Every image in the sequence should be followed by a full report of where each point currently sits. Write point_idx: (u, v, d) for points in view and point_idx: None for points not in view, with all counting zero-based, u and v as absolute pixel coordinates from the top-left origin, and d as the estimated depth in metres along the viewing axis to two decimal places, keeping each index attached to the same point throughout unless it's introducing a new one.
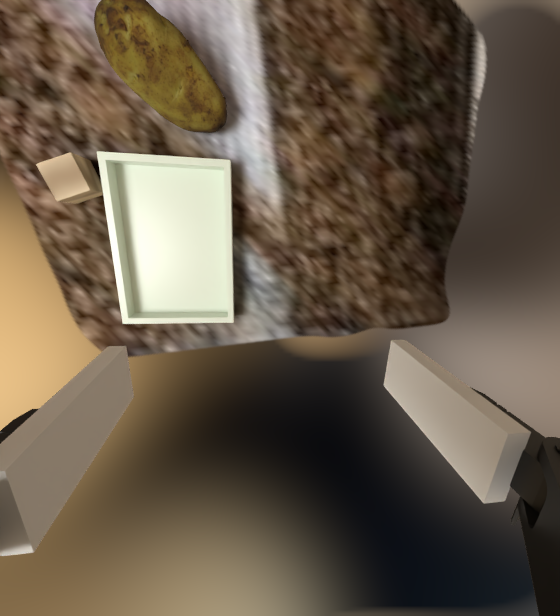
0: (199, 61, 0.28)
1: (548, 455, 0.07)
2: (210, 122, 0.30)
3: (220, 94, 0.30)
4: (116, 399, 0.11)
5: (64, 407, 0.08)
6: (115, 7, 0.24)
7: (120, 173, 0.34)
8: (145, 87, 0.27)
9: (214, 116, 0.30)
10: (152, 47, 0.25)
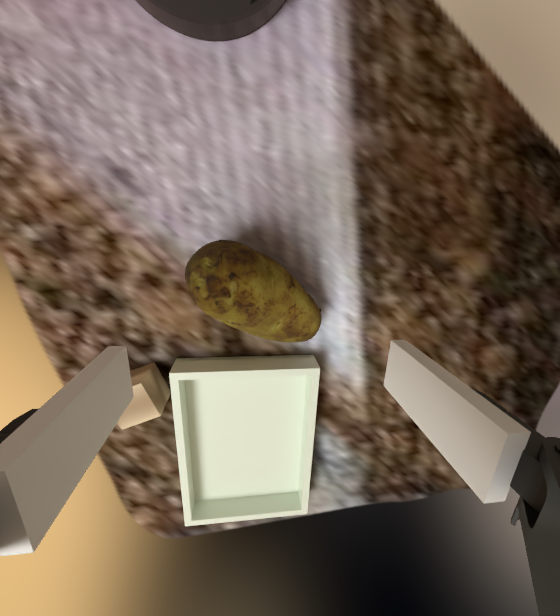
0: (302, 293, 0.23)
1: (548, 455, 0.07)
2: (303, 340, 0.26)
3: (319, 314, 0.25)
4: (116, 399, 0.11)
5: (64, 407, 0.08)
6: (219, 275, 0.19)
7: None
8: (237, 327, 0.23)
9: (310, 336, 0.25)
10: (257, 306, 0.20)
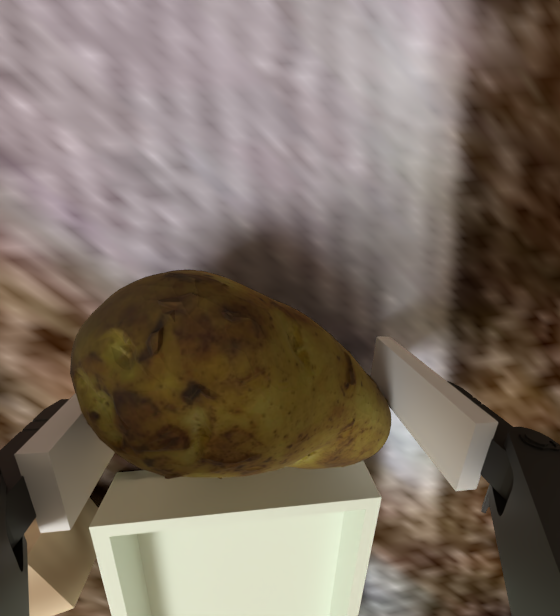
0: (366, 387, 0.10)
1: (514, 444, 0.08)
2: None
3: (389, 417, 0.12)
4: None
5: None
6: (150, 394, 0.06)
7: None
8: None
9: (368, 457, 0.13)
10: (267, 457, 0.07)
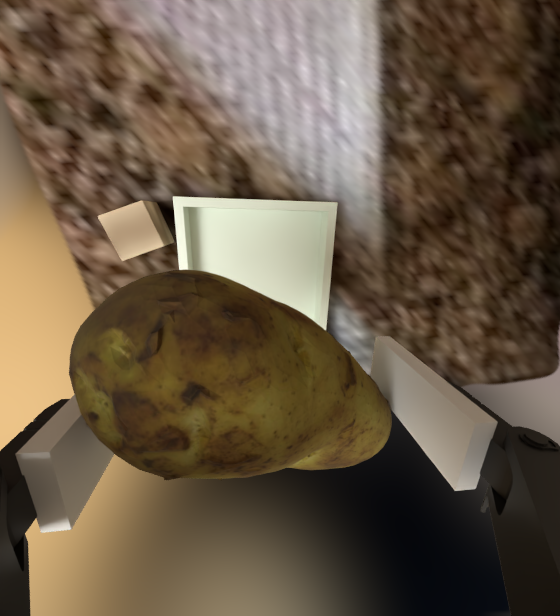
0: (366, 388, 0.10)
1: (513, 444, 0.08)
2: None
3: (390, 418, 0.12)
4: None
5: None
6: (150, 394, 0.06)
7: (194, 218, 0.27)
8: None
9: None
10: (267, 458, 0.07)
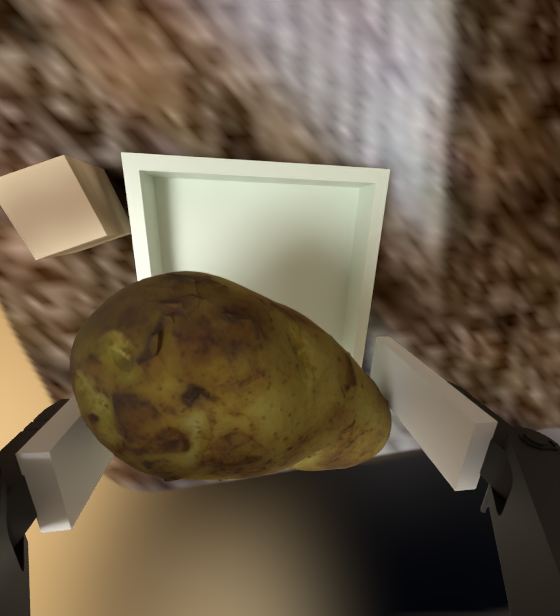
0: (366, 389, 0.10)
1: (513, 444, 0.08)
2: None
3: (390, 418, 0.12)
4: None
5: None
6: (150, 396, 0.06)
7: (163, 195, 0.17)
8: None
9: (368, 459, 0.12)
10: (267, 459, 0.07)
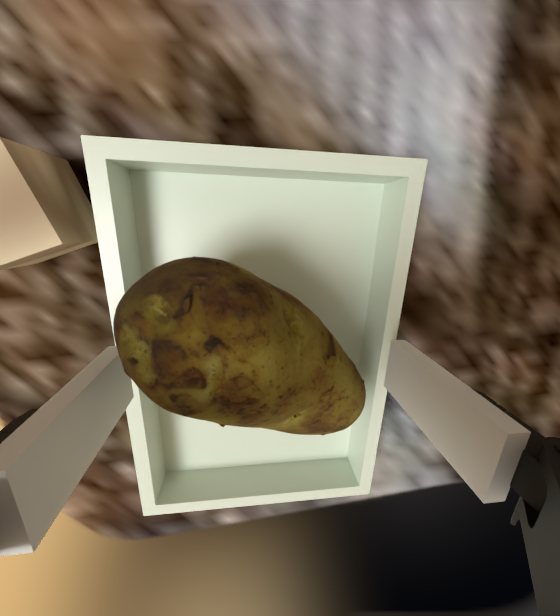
0: (344, 362, 0.12)
1: (548, 455, 0.07)
2: (333, 432, 0.15)
3: (364, 393, 0.14)
4: (116, 399, 0.11)
5: (64, 407, 0.08)
6: (181, 342, 0.08)
7: (142, 192, 0.14)
8: None
9: (345, 428, 0.15)
10: (263, 403, 0.09)
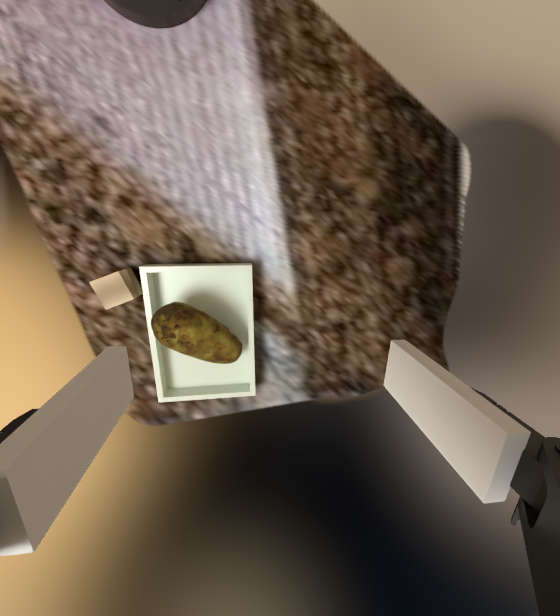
0: (224, 334, 0.37)
1: (548, 455, 0.07)
2: (229, 362, 0.40)
3: (238, 346, 0.39)
4: (116, 399, 0.11)
5: (64, 407, 0.08)
6: (168, 326, 0.33)
7: (156, 277, 0.39)
8: (183, 353, 0.37)
9: (233, 360, 0.39)
10: (192, 343, 0.34)
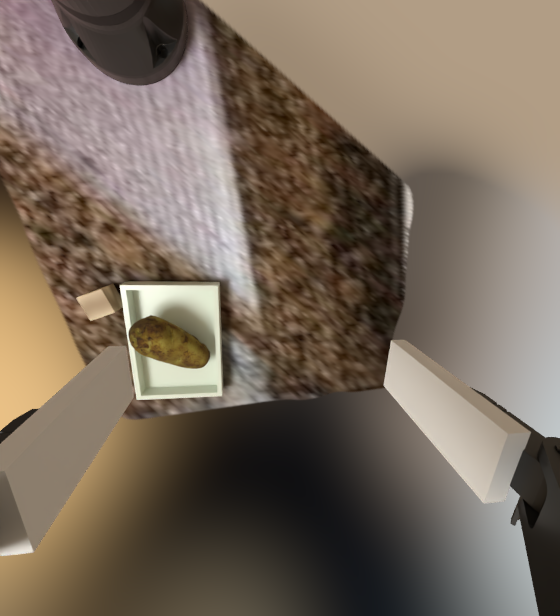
0: (193, 344, 0.43)
1: (548, 455, 0.07)
2: None
3: (205, 354, 0.45)
4: (116, 399, 0.11)
5: (64, 407, 0.08)
6: (142, 338, 0.39)
7: (135, 292, 0.45)
8: None
9: (201, 366, 0.46)
10: (163, 352, 0.41)
